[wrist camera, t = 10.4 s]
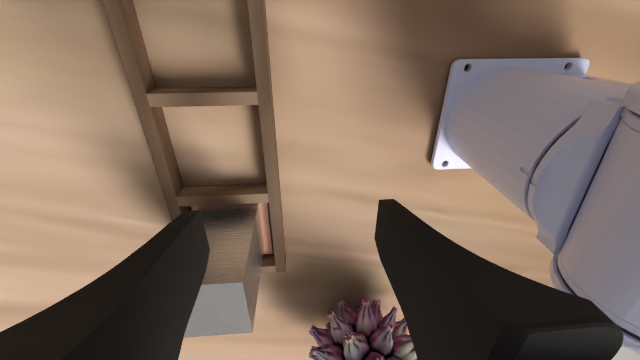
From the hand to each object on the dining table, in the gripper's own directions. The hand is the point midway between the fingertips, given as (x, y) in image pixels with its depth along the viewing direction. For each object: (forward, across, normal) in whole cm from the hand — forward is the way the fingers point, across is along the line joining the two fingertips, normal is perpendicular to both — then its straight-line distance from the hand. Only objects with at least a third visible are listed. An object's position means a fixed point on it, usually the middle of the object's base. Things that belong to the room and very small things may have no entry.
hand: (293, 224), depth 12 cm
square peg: (+10, +5, +8) cm, 14 cm away
